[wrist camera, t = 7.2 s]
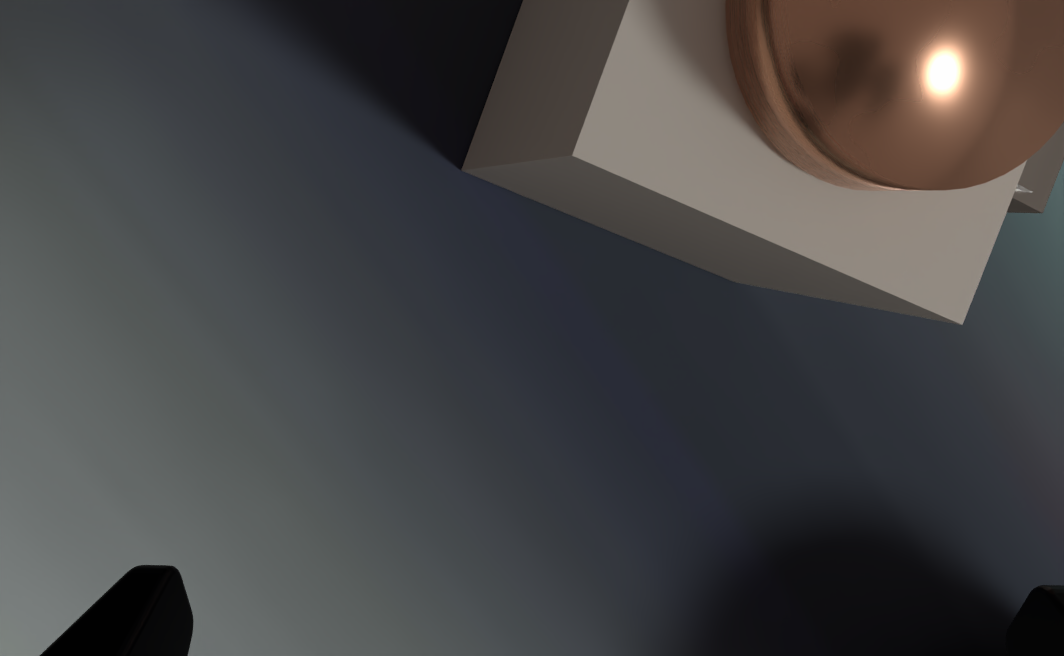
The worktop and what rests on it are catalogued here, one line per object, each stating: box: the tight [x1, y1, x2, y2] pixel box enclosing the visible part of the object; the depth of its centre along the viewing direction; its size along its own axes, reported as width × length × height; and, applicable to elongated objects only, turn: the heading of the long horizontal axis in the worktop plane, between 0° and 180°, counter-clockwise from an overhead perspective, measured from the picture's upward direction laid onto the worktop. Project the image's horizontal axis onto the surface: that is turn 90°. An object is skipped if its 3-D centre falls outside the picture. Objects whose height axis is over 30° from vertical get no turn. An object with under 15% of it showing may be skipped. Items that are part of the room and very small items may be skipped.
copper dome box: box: [461, 0, 1064, 325], centre depth 18 cm, size 8×10×8 cm
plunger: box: [725, 0, 1064, 191], centre depth 15 cm, size 6×6×7 cm
